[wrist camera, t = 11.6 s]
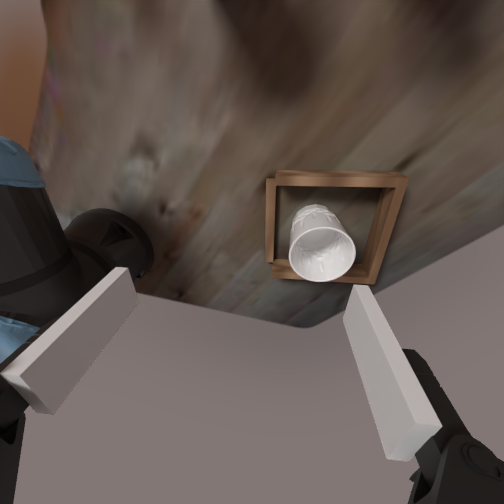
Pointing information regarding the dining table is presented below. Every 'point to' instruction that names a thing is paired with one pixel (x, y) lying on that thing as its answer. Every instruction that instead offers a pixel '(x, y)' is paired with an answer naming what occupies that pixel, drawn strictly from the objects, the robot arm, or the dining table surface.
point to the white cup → (319, 245)
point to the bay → (388, 180)
